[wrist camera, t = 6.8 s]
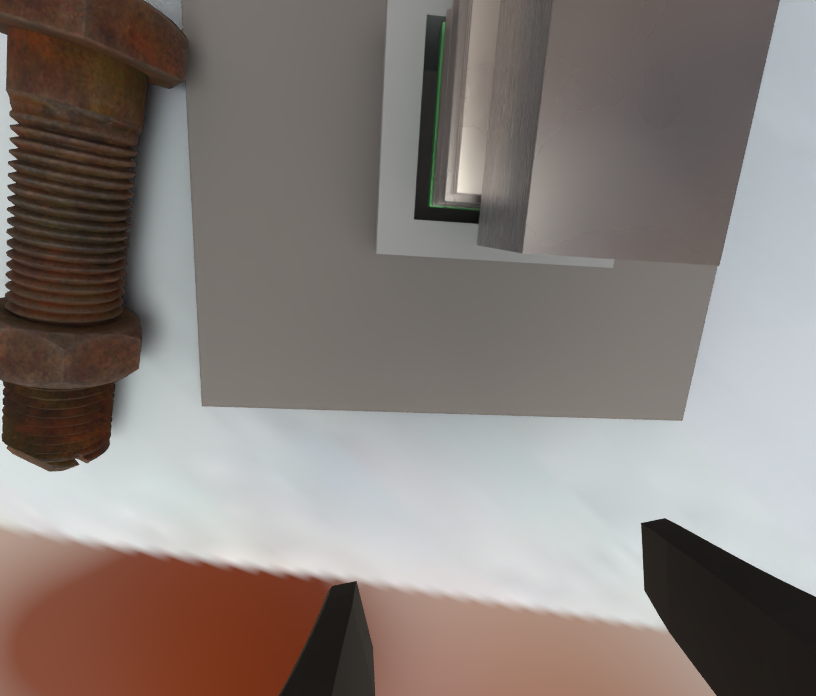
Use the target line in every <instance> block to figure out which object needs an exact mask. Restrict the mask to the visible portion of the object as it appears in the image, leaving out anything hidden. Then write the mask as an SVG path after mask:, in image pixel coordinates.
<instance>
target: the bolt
mask: <svg viewBox="0 0 816 696" xmlns="http://www.w3.org/2000/svg"><path fill="white" fill-rule="evenodd" d="M0 32H1V33H3V34H6V35H8V36H7V78H6V91H7V93H8V95H9V97H10V104H11V107H12V110H11V111H10V116H11V117H12V118H13V119H14V120H16V121H17V122H18V123H19V124H16V125H10V128H11V129H12V130H13V131H14V132H15V133H16V134H17V135H19V137H11V138H10V141H11V142H12V143H13V144H14V145H16V146H17V147H18V148H17V149H11V150H9V153H11V154H12V155H13V156H14V157H15V158H17V159H18V160H13V161H8V164H9V165H10V166H11V167H13V168H14V169H15V170H16V171H17V172H12V173H8V176H9V177H10V178H11V179H12V180H13V181H15V182H16V183H14V184H10V185H7V186H8V188H9V189H10V190H11V191H12V192H14V193H15V194H16V195H12V196H8V197H7V198H8V200H9V201H11V202H12V203H13V204H14V205H15V206H12V207H8V208H7V211H9V212H10V213H12V214H13V215H14V217H11V218H7V222H8V223H9V224H11V225H12V226H14V228H10V229H7V233H8V234H9V235H10V236H12V237H13V238H12V239H9V240H7V245H8V246H10V247H11V248H13V249H11V250H9V251H7V252H6V253H7V256H9V257H10V258H12V260H10V261H8V262H7V263H6V265H7V266H8V267H9V268H10V269H12V270H11V271H9V272H7V273H6V276H7V277H8V278H9V279H11V281H9V282H7V283H6V284H5V286H6V287H7V288H8V289H9V290H11V291H9V292H7V293H6V294H5V297H3V298H0V380H2V381H3V385H4V387H5V388H4V390H3V395H4V396H5V397H4V398H3V405H5V406H4V407H3V409H2V411H3V414H4V415H3V417H2V420H3V430H2V432H3V433H2V441H3V442H4V443H5V444H6V445H8V447H7V449H8V450H9V451H10V452H11V453H12V454H14V455H16V456H18V457H20V458H22V459H24V460H26V461H28V462H30V463H33V464H35V465H37V466H39V467H41V468H43V469H45V470H48V471H50V472H51V471H63V470H66V469H69V468H72V467H74V466H77V465H79V463H78V462H77V461H76V460H75V459H76V458H77V459H79V460H81V461H83V462H85V463H89V462H90V461H92V460H93V459H95V458H97V457H99V456H100V455H101V454H103V453H104V452H105V451H106V450H107V449H108V447H109V445H110V441H109V439H110V437H111V421H112V417H111V416H112V410H113V398H114V396H115V395H114V389H115V384H114V382H116V381H118V380H120V379H122V378H124V377H126V376H128V375H129V374H131V373H132V372H134V371H135V370H137V369H139V362H140V352H141V343H142V335H141V326H140V320H139V318H138V317H137V315H135V314H134V313H133V312H131V311H129V310H127V309H126V308H123V307H121V306H120V305H122V304H123V298H122V297H121V296H122V295H123V294H124V290H123V288H121V287H122V286H124V285H125V281H124V280H123V277H124V276H125V275H126V272H125V271H124V269H123V268H124V267H125V266H126V265H127V263H126V262H125V260H124V259H123V258H125V257H127V252H126V251H125V250H123V249H124V248H127V247H128V242H126V241H125V240H124V239H127V238H129V235H130V234H129V233H128V232H127V231H125V230H126V229H128V228H129V227H131V224H130V223H129V222H128V221H127V220H126V219H128V218H130V217H131V216H132V214H131V213H130V212H129V211H127V209H130V208H132V205H133V204H132V203H131V202H129V201H128V200H127V199H129V198H131V197H134V194H133V193H132V192H130V191H129V190H127V189H130V188H132V187H134V183H133V182H131V181H130V180H129V178H132V177H134V176H135V174H136V173H134V172H133V171H131V170H130V169H129V168H131V167H134V166H136V162H135V161H133V160H132V159H130V158H131V157H133V156H136V155H137V153H138V152H137V151H135V150H134V149H133V148H132V147H133V146H135V145H137V144H138V141H139V134H140V133H141V131H142V130H143V122H144V113H145V104H146V95H147V86H148V83H151V84H154V85H158V86H161V87H165V88H169V89H170V88H172V87H174V86H177V85H179V84H181V83H183V82H184V81H185V72H186V62H187V53H188V44H189V42H188V39H187V37H186V35H185V34H184V33H183V32H182V31H181V30H180V29H179V28H178V27H177V25H176V24H175V23H174V22H173V21H172V20H170V19H169V18H168V17H166V16H165V15H164V14H163V13H161V12H160V11H159V10H157V9H156V8H154V7H153V6H151V5H150V4H148V3H147V2H145V1H144V0H0Z"/></svg>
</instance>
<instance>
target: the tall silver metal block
mask: <svg viewBox="0 0 816 696" xmlns="http://www.w3.org/2000/svg"><path fill="white" fill-rule="evenodd" d="M779 1H780V0H453V3H452V9H447V11H446V20H445V22H443V23H442V26H441V29H440V37H439V51H438V65H437V79H436V94H435V108H434V122H433V136H432V150H431V164H430V178H429V193H428V207H432V208H446V209H461V210H475V211H480V216H479V226H478V236H477V245H478V246H483V247H489V248H494V249H500V250H505V251H511V252H517V253H522V254H538V255H554V256H570V257H586V258H602V259H619V260H635V261H651V262H667V263H683V264H699V265H715V266H719V264H720V260H721V256H722V251H723V247H724V242H725V238H726V234H727V229H728V225H729V221H730V216H731V212H732V207H733V203H734V199H735V194H736V190H737V185H738V181H739V177H740V172H741V168H742V163H743V159H744V155H745V150H746V146H747V141H748V137H749V133H750V128H751V124H752V119H753V115H754V111H755V106H756V102H757V98H758V93H759V89H760V84H761V80H762V76H763V71H764V67H765V62H766V58H767V54H768V49H769V45H770V40H771V36H772V32H773V27H774V23H775V18H776V14H777V10H778V5H779Z"/></svg>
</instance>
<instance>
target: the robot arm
mask: <svg viewBox="0 0 816 696" xmlns="http://www.w3.org/2000/svg"><path fill="white" fill-rule="evenodd" d="M641 528H642V549H643V569H644V590H645V592H646V594H647V595H648V597H649V599H650V601H651V602H652V604H653V606H654V608H655V609H656V611H657V613H658V614H659V616H660V618H661V619H662V621H663V623H664V624H665V626H666V627H667V629H668V631H669V632H670V634H671V635H672V636H673V638H674V639H675V641H676V642H677V643H678V645H679V646H680V647H681V649H682V650H683V651H684V653H685V654H686V655H687V657H688V658H689V659H690V661H691V662H692V663H693V665H694V666H695V667H696V669H697V670H698V671H699V673H700V674H701V675H702V677H703V678H704V679H705V681H706V682H707V683H708V685H709V686H710V687H711V689H712V690H713V691H714V693H715V694H716V695H717V696H816V597H815V596H813V595H811V594H808V593H806V592H804V591H802V590H800V589H798V588H796V587H794V586H792V585H790V584H788V583H786V582H784V581H782V580H780V579H778V578H776V577H774V576H772V575H770V574H768V573H766V572H764V571H762V570H760V569H758V568H756V567H754V566H752V565H750V564H749V563H747V562H745V561H743V560H741V559H739V558H737V557H735V556H734V555H732V554H730V553H728V552H726V551H724V550H723V549H721V548H719V547H717V546H715V545H713V544H712V543H710V542H708V541H706V540H704V539H703V538H701V537H699V536H697V535H695V534H694V533H692V532H690V531H688V530H686V529H684V528H683V527H681V526H679V525H677V524H675V523H673V522H671V521H669V520H667V519H665V518H664V519H659V520H654V521H649V522H644V523H641ZM374 683H375V682H374V662H373V646H372V642H371V638H370V634H369V630H368V626H367V622H366V618H365V614H364V610H363V606H362V602H361V598H360V594H359V589H358V585H357V581H355V582H350V583H345V584H340V585H335V586H332V587H331V588H330V590H329V591H328V594H327V596H326V599H325V601H324V603H323V606H322V608H321V611H320V613H319V615H318V618H317V620H316V622H315V625H314V627H313V629H312V631H311V633H310V636H309V638H308V640H307V642H306V644H305V646H304V648H303V650H302V652H301V654H300V656H299V658H298V661H297V662H296V664H295V666H294V668H293V670H292V672H291V674H290V676H289V678H288V680H287V682H286V683H285V685H284V687H283V689H282V691H281V693H280V695H279V696H375V684H374Z"/></svg>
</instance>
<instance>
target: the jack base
mask: <svg viewBox="0 0 816 696" xmlns="http://www.w3.org/2000/svg"><path fill="white" fill-rule="evenodd" d="M181 2H182V22H183V33H184V34H185V35H186V37H187V39H188V42H189V44H188V53H187V62H186V72H185V81H186V101H187V121H188V140H189V160H190V180H191V200H192V220H193V239H194V259H195V279H196V299H197V318H198V338H199V358H200V378H201V398H202V406H215V407H248V408H281V409H314V410H347V411H380V412H413V413H446V414H479V415H512V416H545V417H578V418H611V419H644V420H677V421H682V420H683V415H684V411H685V407H686V402H687V398H688V393H689V389H690V385H691V380H692V376H693V371H694V367H695V363H696V358H697V354H698V349H699V345H700V341H701V336H702V332H703V327H704V323H705V318H706V314H707V310H708V305H709V301H710V296H711V292H712V288H713V283H714V279H715V274H716V270H717V266H715V265H699V264H683V263H667V262H651V261H635V260H619V259H602V258H586V257H570V256H554V255H538V254H522V253H517V252H511V251H505V250H500V249H494V248H489V247H483V246H478V245H477V236H478V226H479V216H480V211H475V210H461V209H446V208H432V207H428V193H429V178H430V164H431V150H432V136H433V122H434V108H435V94H436V79H437V65H438V51H439V37H440V29H441V26H442V23H443V22H445V20H446V11H447V9H452V3H453V0H181Z"/></svg>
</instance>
